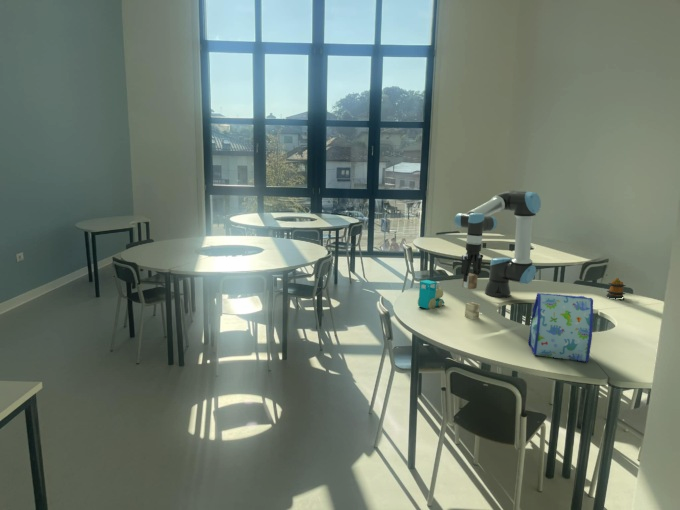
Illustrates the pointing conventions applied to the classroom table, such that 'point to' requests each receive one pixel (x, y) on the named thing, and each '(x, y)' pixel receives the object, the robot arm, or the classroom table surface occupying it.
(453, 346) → the classroom table surface
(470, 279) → the walnut block
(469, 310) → the maple block
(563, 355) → the lunch bag
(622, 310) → the classroom table surface
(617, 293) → the orange tiered tower
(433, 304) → the toy train
